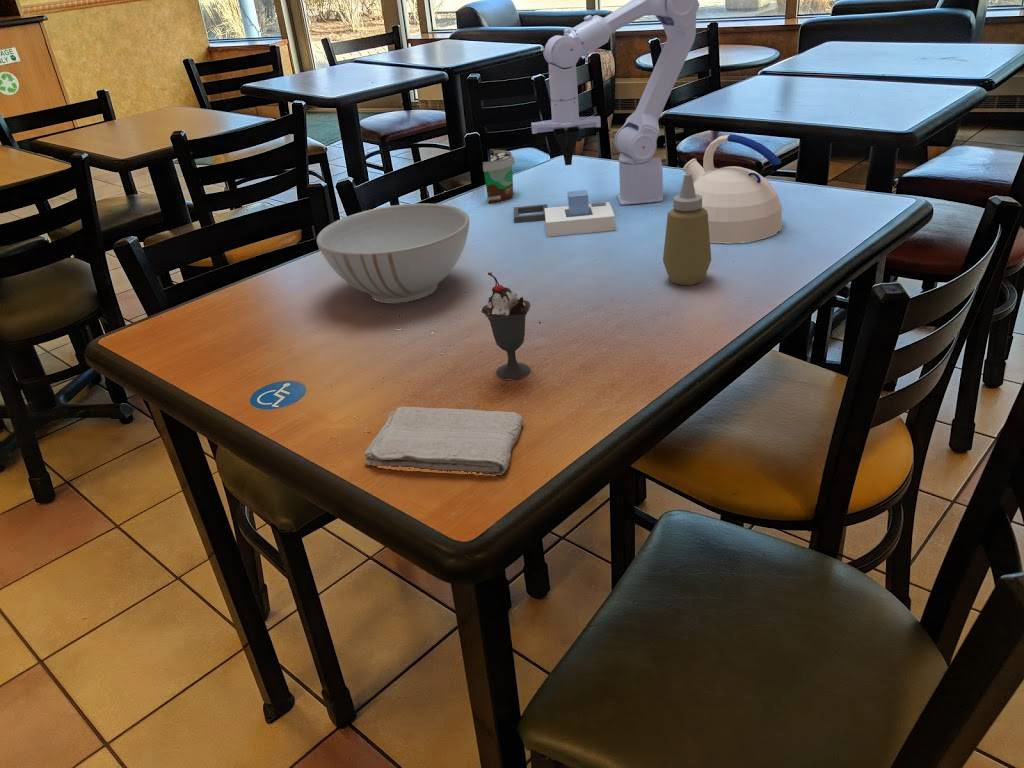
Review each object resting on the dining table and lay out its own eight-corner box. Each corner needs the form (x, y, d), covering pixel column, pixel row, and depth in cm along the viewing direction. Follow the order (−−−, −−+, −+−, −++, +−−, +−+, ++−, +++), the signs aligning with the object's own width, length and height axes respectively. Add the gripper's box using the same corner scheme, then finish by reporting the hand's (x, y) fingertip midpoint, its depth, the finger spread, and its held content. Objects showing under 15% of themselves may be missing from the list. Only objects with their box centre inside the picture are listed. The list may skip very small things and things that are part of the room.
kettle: (711, 206, 168) (714, 119, 160) (802, 220, 155) (810, 127, 146) (654, 233, 157) (654, 141, 148) (747, 252, 143) (752, 152, 134)
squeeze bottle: (713, 271, 136) (716, 167, 128) (707, 289, 130) (710, 182, 121) (666, 269, 139) (666, 168, 130) (659, 287, 133) (658, 182, 124)
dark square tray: (547, 209, 177) (547, 204, 177) (548, 219, 171) (548, 214, 170) (514, 212, 178) (513, 207, 177) (514, 222, 171) (513, 217, 170)
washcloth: (395, 420, 104) (390, 400, 103) (526, 425, 100) (524, 404, 98) (362, 473, 94) (357, 452, 93) (507, 480, 90) (504, 458, 88)
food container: (512, 204, 183) (508, 161, 178) (487, 205, 185) (482, 162, 180) (522, 189, 194) (518, 148, 189) (498, 190, 195) (493, 149, 190)
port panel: (610, 215, 169) (609, 201, 167) (615, 230, 160) (614, 215, 159) (545, 221, 170) (544, 207, 168) (547, 236, 161) (545, 221, 159)
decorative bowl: (356, 335, 128) (341, 266, 122) (314, 287, 149) (299, 225, 143) (502, 293, 137) (494, 226, 131) (442, 253, 159) (434, 194, 153)
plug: (588, 222, 167) (586, 189, 163) (589, 228, 163) (588, 195, 160) (569, 224, 167) (567, 191, 163) (570, 230, 163) (568, 197, 160)
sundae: (488, 364, 114) (475, 267, 107) (533, 358, 115) (524, 261, 107) (491, 386, 109) (478, 285, 101) (539, 379, 109) (529, 279, 101)
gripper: (529, 105, 160) (535, 171, 166) (600, 98, 159) (603, 165, 166) (529, 99, 166) (534, 163, 172) (597, 92, 165) (600, 157, 172)
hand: (568, 164), depth 169 cm, fingers closed
